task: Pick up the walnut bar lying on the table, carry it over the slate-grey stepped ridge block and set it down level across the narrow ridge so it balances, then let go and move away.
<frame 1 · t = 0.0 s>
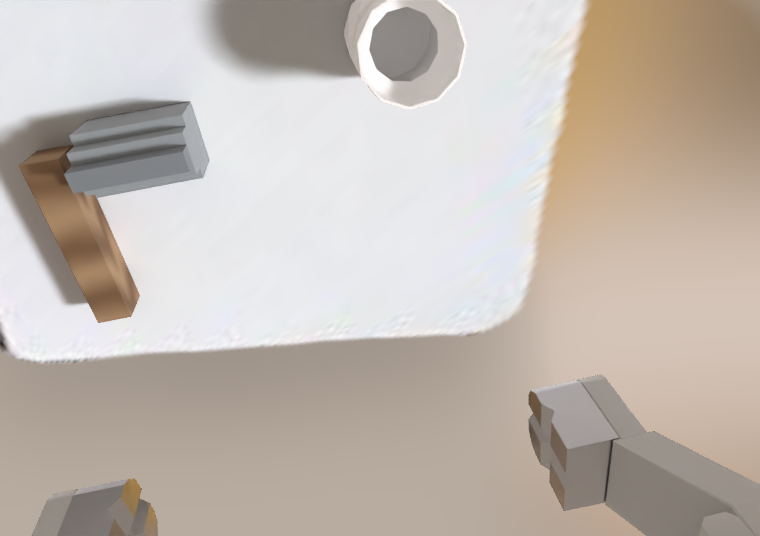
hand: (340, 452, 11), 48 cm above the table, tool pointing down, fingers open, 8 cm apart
vase: (387, 32, 52), on the table
walnut bar: (93, 228, 58), on the table
ridge block: (150, 141, 54), on the table
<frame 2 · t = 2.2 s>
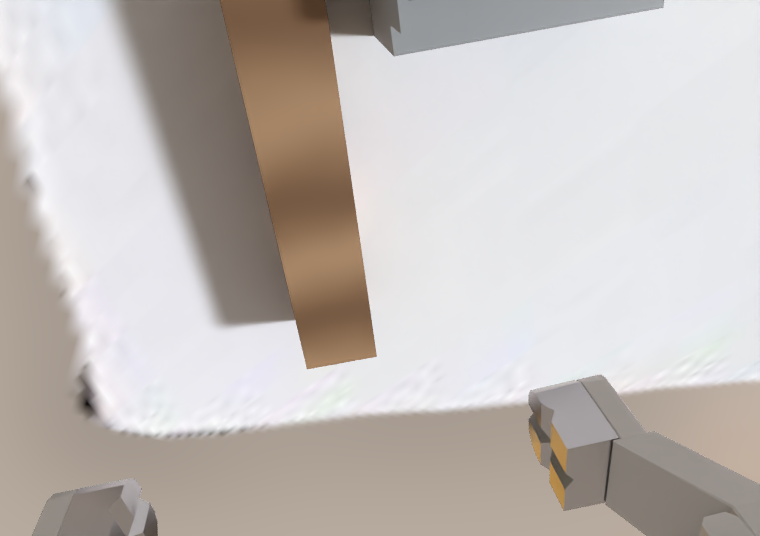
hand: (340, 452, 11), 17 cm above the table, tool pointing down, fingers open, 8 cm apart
walnut bar: (306, 160, 26), on the table
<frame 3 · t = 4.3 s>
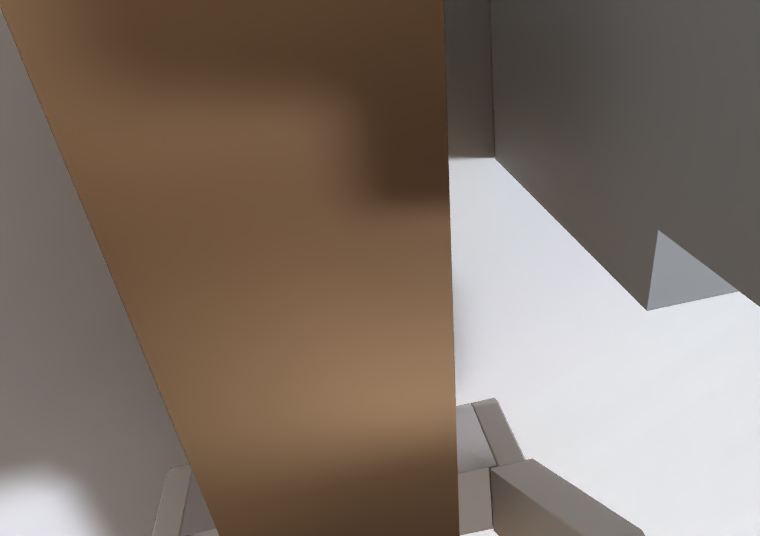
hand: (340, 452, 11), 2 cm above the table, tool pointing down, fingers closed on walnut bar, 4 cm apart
walnut bar: (334, 392, 13), on the table, touching gripper
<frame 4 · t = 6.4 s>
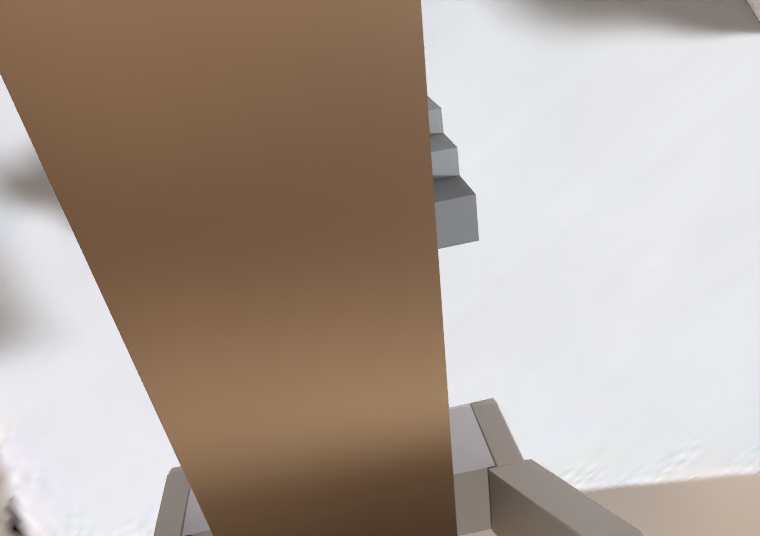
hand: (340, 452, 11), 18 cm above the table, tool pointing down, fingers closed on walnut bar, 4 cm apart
walnut bar: (334, 396, 13), point 16 cm above the table, touching gripper
ridge block: (323, 166, 27), on the table
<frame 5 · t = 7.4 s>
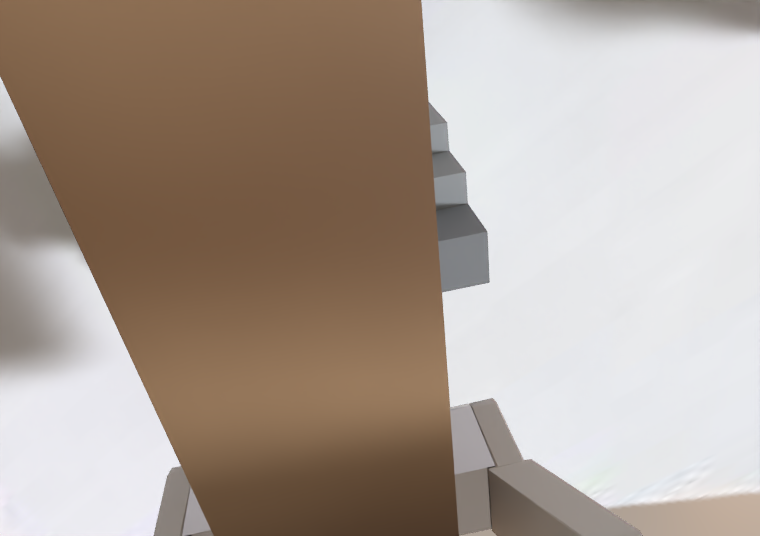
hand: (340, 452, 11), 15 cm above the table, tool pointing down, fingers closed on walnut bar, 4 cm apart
walnut bar: (335, 396, 13), point 13 cm above the table, touching gripper
ridge block: (311, 178, 24), on the table
when the fingers open (11 cm above the table, at t = 8.3 s): walnut bar stays where it is, resting on ridge block.
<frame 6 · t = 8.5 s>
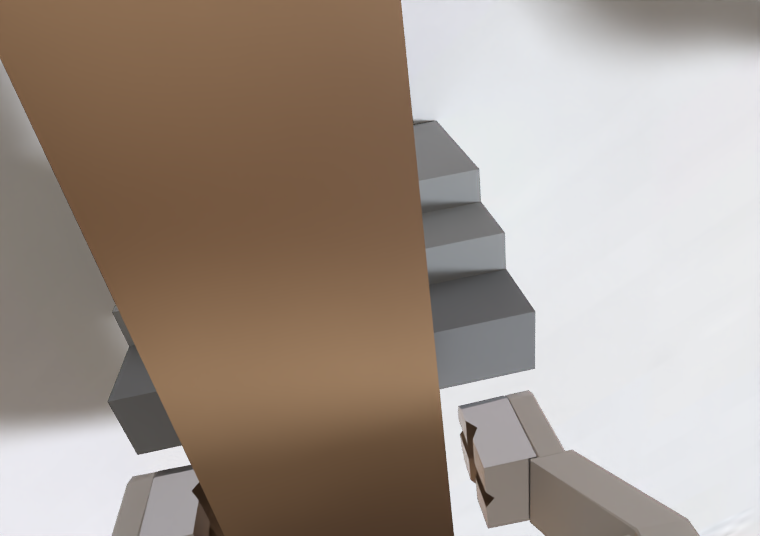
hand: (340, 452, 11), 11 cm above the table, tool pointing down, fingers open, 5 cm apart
walnut bar: (333, 385, 13), point 9 cm above the table, touching ridge block
ridge block: (315, 222, 21), on the table
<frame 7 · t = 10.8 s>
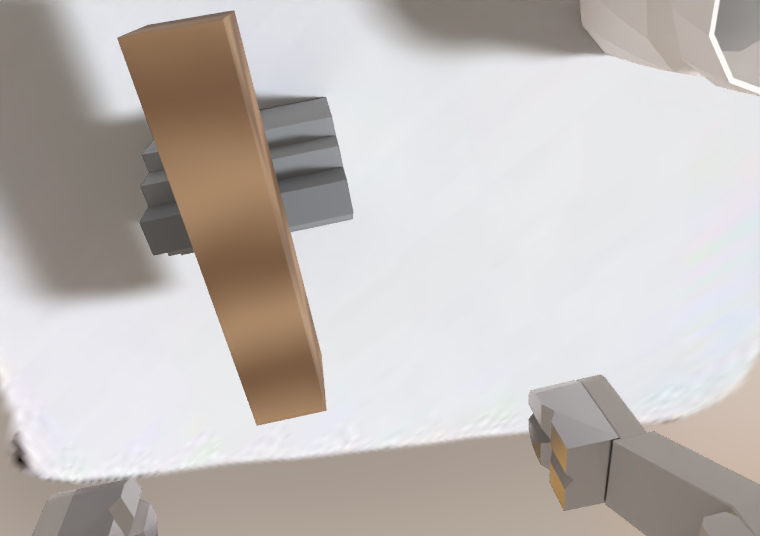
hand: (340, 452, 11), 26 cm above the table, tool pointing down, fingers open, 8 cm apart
walnut bar: (249, 218, 26), point 9 cm above the table, touching ridge block
ridge block: (257, 160, 34), on the table
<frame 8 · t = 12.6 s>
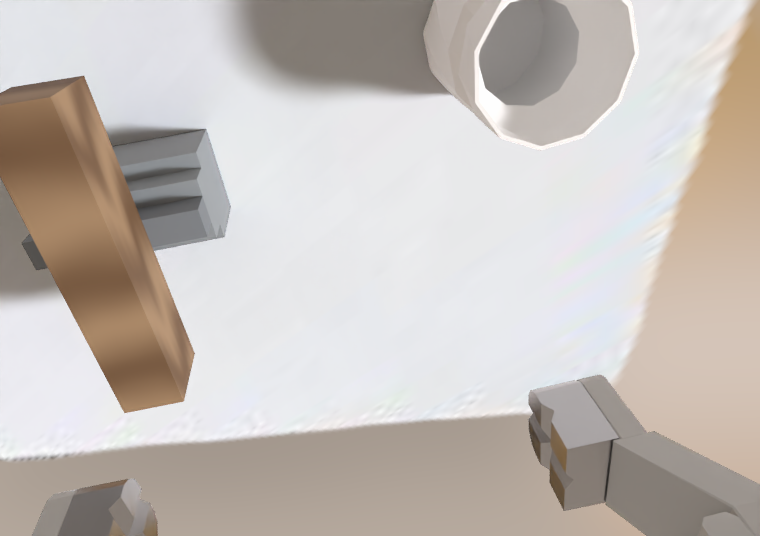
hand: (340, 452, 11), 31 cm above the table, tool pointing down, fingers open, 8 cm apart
vase: (481, 32, 38), on the table
walnut bar: (116, 240, 31), point 9 cm above the table, touching ridge block
ridge block: (149, 182, 39), on the table
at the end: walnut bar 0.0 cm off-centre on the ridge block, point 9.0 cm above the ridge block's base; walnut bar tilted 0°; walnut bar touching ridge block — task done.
